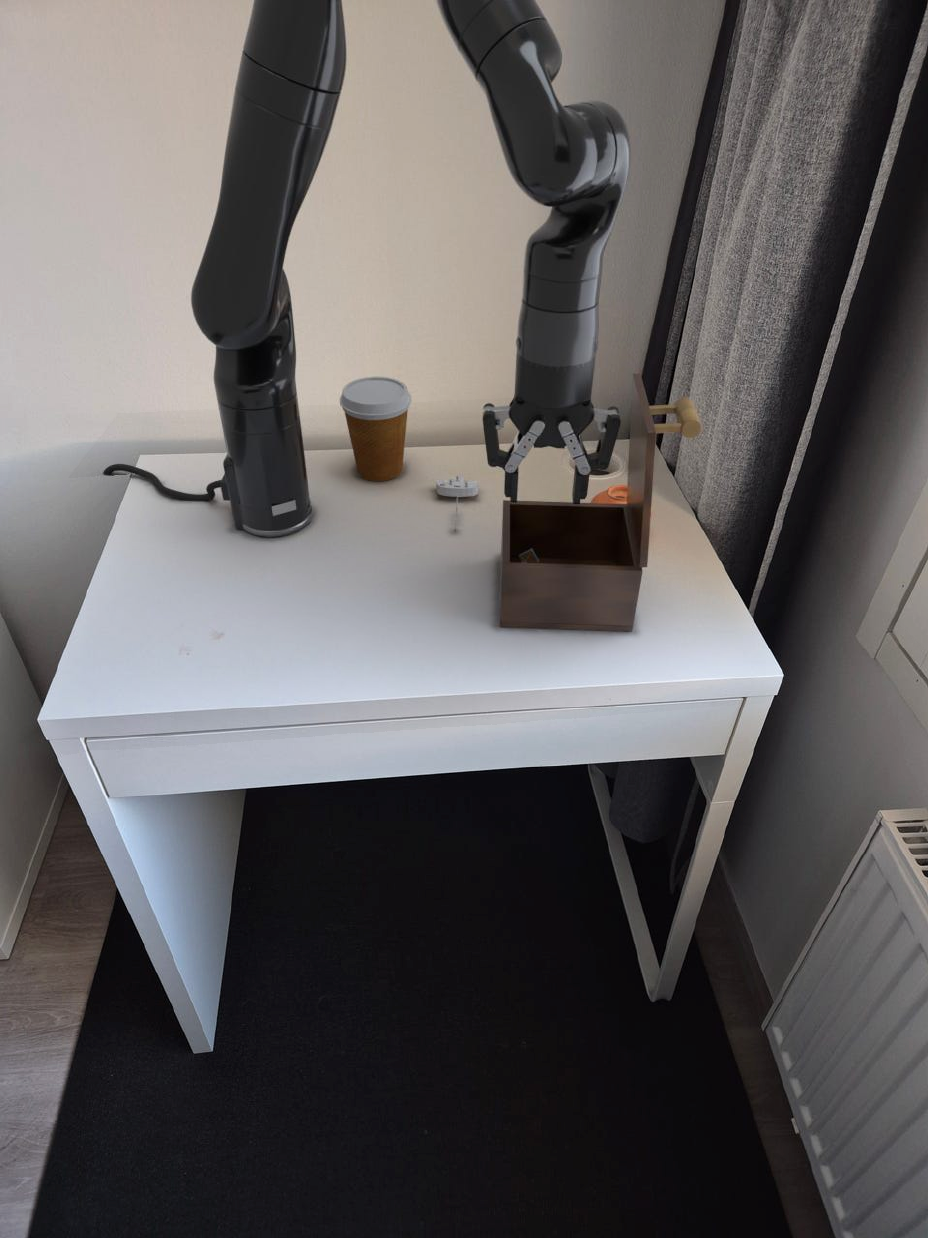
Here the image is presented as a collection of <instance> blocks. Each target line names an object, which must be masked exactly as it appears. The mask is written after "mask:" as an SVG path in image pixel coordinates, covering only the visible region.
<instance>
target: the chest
mask: <svg viewBox="0 0 928 1238" xmlns="http://www.w3.org/2000/svg"><path fill="white" fill-rule="evenodd" d="M501 516H502V518H501V539H500V574H499V575H500V577H499V626H498V627H500V628H513V629H514V628H515V629H517V628H518V629H519V628H520V629H547V630H548V629H549V630H575V631H577V630H578V631H601V632H602V631H603V632H604V631H606V632H633V628H634V623H635V617H636V612H637V606H638V601H639V596H640V595H639V593H640V590H641V589H640V588H641V583H642V578H643V577H642V576H643V572H644V571H643V567H639V562H638V557H637V552H636V546H635V541H634V536H633V531H632V526H631V521H630V515H629V510H628V505H627V504H610V503H590V502H580V504H573V501H543V500H542V501H539V500H517V503H512V502H510V500H507V499H503V500H502V515H501ZM530 549H533V551H534V553H535V555H536V556H537V558H538V560H539V562H538V563H521V559H520V557H519V555H520V554H522V553H524V552H526V551H528V550H530Z"/></svg>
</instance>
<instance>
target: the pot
mask: <svg viewBox="0 0 928 1238" xmlns="http://www.w3.org/2000/svg"><path fill="white" fill-rule="evenodd" d="M589 503H610V504H627V484H626V485H624V484H617V485H612V486H610V487H608V488H607V489H605V490H603V491H601V492H599V493H598V494H596V495H595V496H593V498H592V499H591V500H590V502H589ZM652 517H653V507H651V518H652Z"/></svg>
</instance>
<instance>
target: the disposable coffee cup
mask: <svg viewBox="0 0 928 1238" xmlns="http://www.w3.org/2000/svg"><path fill="white" fill-rule="evenodd" d="M341 391H342V392H341V395H340V397H339V406H341V409H342V410H343V411H344V416H345V421H346V426H347V430H348V434H349V438H350V443H351V447H352V452H353V457H354V461H355V465H356V471H357V474H358V475H359V477H361V478H363V479H364V480H367V481H373V482H385V481H389V480H390V481H391V480H393V479H396V478H397V477H399V476H400V475H401V474H402V472H403V466H404V464H403V463H404V453H405V444H406V434H407V423H408V411H409V408H410V405H411V403H412V395H411V394H410V392H409V389H408V387H407V385H406V384H405V383H404V382H402V381H401V380H399V379H396V378H393V377H388V376H366V377H361V378H357V379H354V380H352V381H350V382H348V383H347V384H345V385H344V387H343V388H342V390H341Z"/></svg>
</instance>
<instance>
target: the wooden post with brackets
mask: <svg viewBox="0 0 928 1238" xmlns="http://www.w3.org/2000/svg"><path fill="white" fill-rule="evenodd" d="M519 557H520V559H521V563H538V562H539V560H538V558H537V556H536V555H535V553H534V551H533V549H530V550H528V551H526V552H524V553H522V554H520V555H519Z"/></svg>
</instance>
